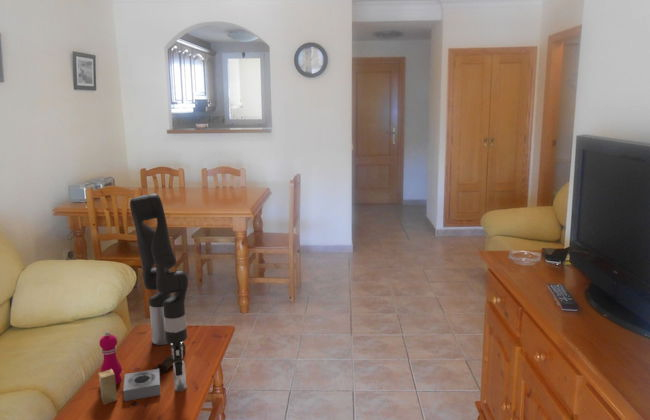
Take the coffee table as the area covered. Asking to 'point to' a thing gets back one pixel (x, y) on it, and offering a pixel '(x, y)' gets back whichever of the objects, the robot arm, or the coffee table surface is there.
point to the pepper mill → (110, 355)
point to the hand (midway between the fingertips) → (178, 369)
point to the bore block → (141, 384)
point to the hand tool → (168, 362)
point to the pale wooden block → (108, 386)
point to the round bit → (180, 378)
